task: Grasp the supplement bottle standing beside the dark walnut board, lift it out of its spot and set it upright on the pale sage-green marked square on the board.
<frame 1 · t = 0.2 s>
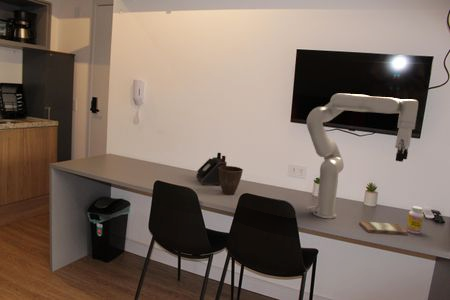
hand: (401, 160, 178), 37 cm above the worktop, tool pointing down, fingers open, 9 cm apart
supplement bottle: (413, 231, 186), on the worktop
voltmeter: (209, 183, 250), on the worktop
plant pot: (228, 193, 228), on the worktop
walnut board: (382, 229, 186), on the worktop
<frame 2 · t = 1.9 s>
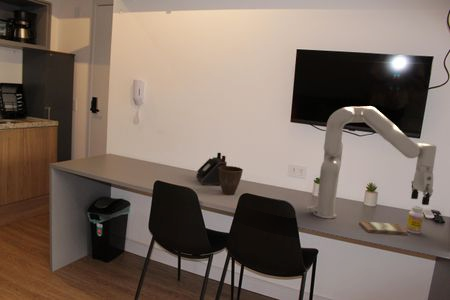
hand: (419, 201, 184), 16 cm above the worktop, tool pointing down, fingers open, 9 cm apart
nothing on the worktop moved.
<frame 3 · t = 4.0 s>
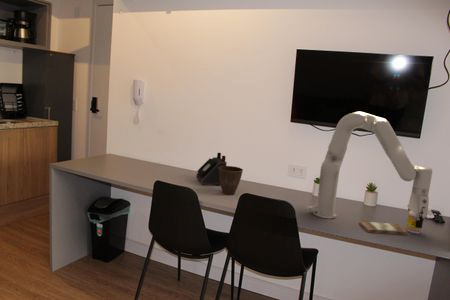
hand: (414, 224, 186), 4 cm above the worktop, tool pointing down, fingers closed on supplement bottle, 6 cm apart
supplement bottle: (413, 231, 186), on the worktop, touching gripper
everything else where it was.
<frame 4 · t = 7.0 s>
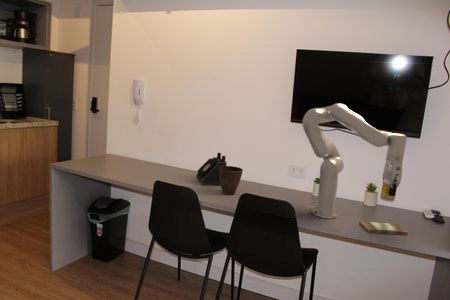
hand: (388, 193, 183), 19 cm above the worktop, tool pointing down, fingers closed on supplement bottle, 6 cm apart
supplement bottle: (387, 200, 183), point 15 cm above the worktop, touching gripper
everything else where it was.
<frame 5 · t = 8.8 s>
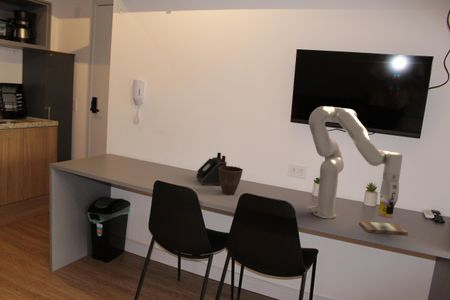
hand: (385, 211, 184), 10 cm above the worktop, tool pointing down, fingers closed on supplement bottle, 6 cm apart
supplement bottle: (384, 218, 185), point 6 cm above the worktop, touching gripper
everything else where it was.
when the fingers open (7 cm above the worktop, at t = 10.4 s): supplement bottle drops 1 cm, resting on walnut board.
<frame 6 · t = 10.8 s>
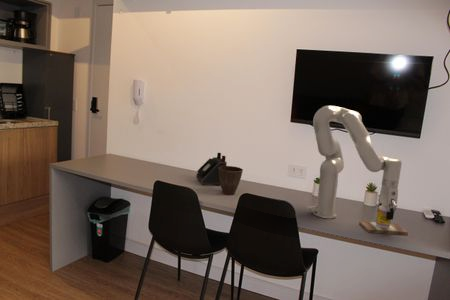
hand: (384, 215, 185), 7 cm above the worktop, tool pointing down, fingers open, 9 cm apart
supplement bottle: (382, 226, 186), point 2 cm above the worktop, touching walnut board
everything else where it was.
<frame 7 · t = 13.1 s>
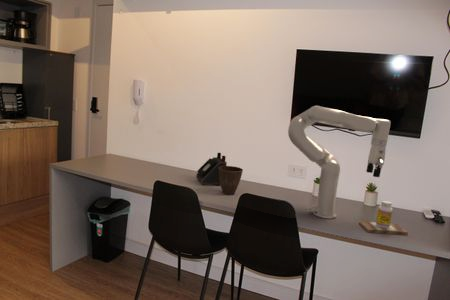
hand: (372, 174, 192), 26 cm above the worktop, tool pointing down, fingers open, 9 cm apart
nothing on the worktop moved.
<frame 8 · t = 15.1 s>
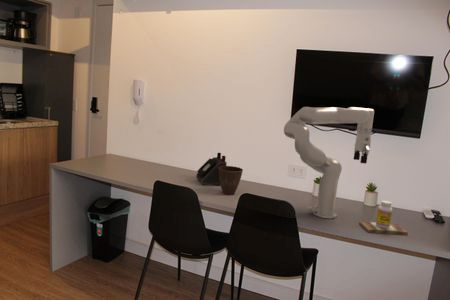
hand: (359, 161, 203), 30 cm above the worktop, tool pointing down, fingers open, 9 cm apart
nothing on the worktop moved.
at the end: supplement bottle inside the target area on the walnut board (0.3 cm from its centre), point 1.5 cm above the walnut board's base; supplement bottle tilted 0°; the gripper is holding nothing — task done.
